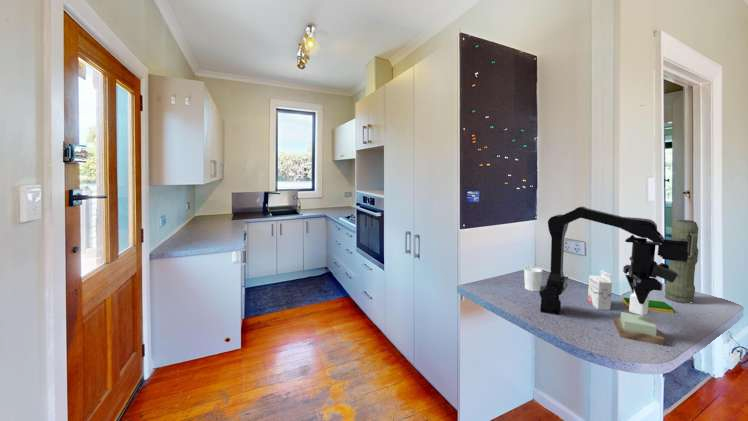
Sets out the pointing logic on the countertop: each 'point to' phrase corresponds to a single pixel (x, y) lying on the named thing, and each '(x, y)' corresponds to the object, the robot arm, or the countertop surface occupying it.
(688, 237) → the thermos
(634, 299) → the pepper shaker
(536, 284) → the white cup
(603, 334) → the countertop surface
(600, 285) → the ink cartridge box
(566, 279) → the robot arm
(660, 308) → the dish sponge
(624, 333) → the tower base block
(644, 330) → the tower top block
